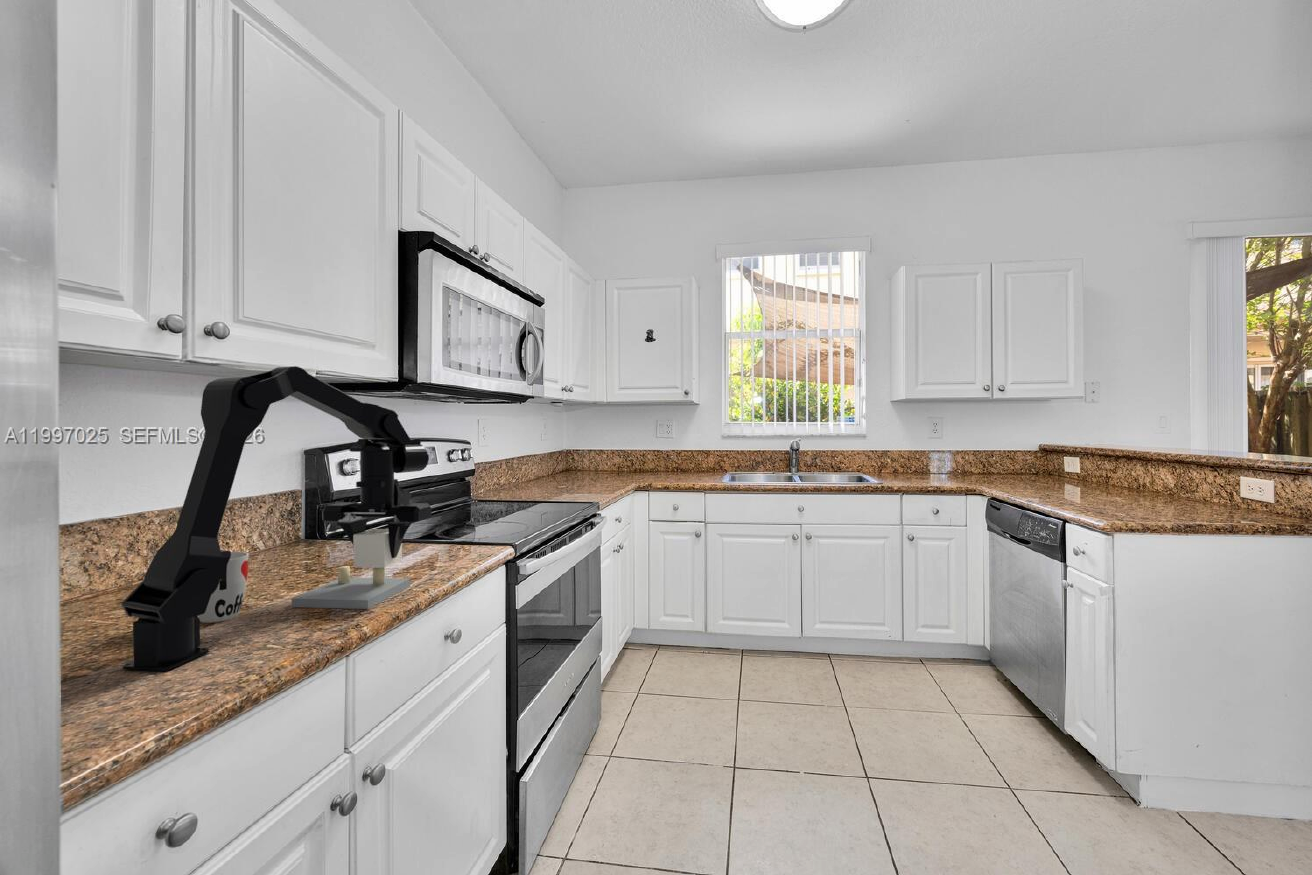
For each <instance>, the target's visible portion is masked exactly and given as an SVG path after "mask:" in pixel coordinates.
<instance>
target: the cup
mask: <svg viewBox="0 0 1312 875" xmlns="http://www.w3.org/2000/svg"><path fill="white" fill-rule="evenodd" d="M249 555H250V554H249V553H248V552H244V551H231V557H230V560H229V562H228V564H227V566H226V570H225V581H221V580H220V583H219V585H218V587H217V589H216V591H215V592H214V593H213V594H211V597H210V600H209V603H208V606H207V609H206V611H205V613H204V614H202V615H198V617H199V619H200V623H204V624H205V623H206V624H208V623H209V624H211V623H218V622H225V621H228V620H231V619H235V618H236V617H238V616H239V614H240V612H241V609H242V605H243V602H244V600H245V595H246V588H247V584H248V577H249V576H248V575H249V574H248V572H249Z"/></svg>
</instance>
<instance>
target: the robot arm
mask: <svg viewBox="0 0 1312 875" xmlns="http://www.w3.org/2000/svg"><path fill="white" fill-rule="evenodd" d="M290 396H291V397H293V398H295V399H297V400H298V401H301V402H302V403H304V404H307V405H309V406H311V407H313V408H315V409H318V410H320V411H321V412H324V413H325V414H327V415H329V416H332V417H334V418H336V419H338V420H340V421H341V422H342V423H343V424H344V425H345V427H346V428H347V430H349V431H350V432H352V433H353V434H354V435H355V436H357V437H358V439H357V441H356V442H355V443H354V444H352V446H351V447H350V448H349V451H350V452H352V453H353V452H354V453H355V452H356V453H360V454H359V455H360V456H359V459H360V460H359V461H360V465H359V466H360V467H359V470H360V471H359V472H360V477H359V478H360V481H359V480H358V481H356V482H355V485H356V486H355V487H356V488H360V502H343V501H342V502H336V503H332V504H331V503H330V504H327V505H325V506H324V508H323V510H322V513H321V514H322V515H321V518H322V521H323V522H325V521H326V522H336V524H335V525H336V526H338V527H341V529H342V530H343V531H344V533H345V534H346V536H347V537H348V539H349V541H350V542H351V544H352V545H353V535H354V534H357V533H361V532H364V531H366V526H367V524H368V521H369V518H368V517H370V518H371V517H372V518H375V517H376V518H382V517H383V518H394V521H393V522H389V523H387V529H388V531H389V542H390V552H391V556H392V558H395V557H397V554H398V552H399V549H400V546H401V543H402V544H403V541H404V537H405V536H406V533H407V531H408V529H409V528H410V527H411V525H412V524H415V523H419V522H421V521H424V520H427V519H430V518H432V516H433V515H432V514H433V512H432V507H431V506H430V504H429V503H428V502H423V503H421V502H419V503H418V502H410V500H411V496H412V492H410V491H409V490H407V489H404V488H402V487H400V486H399V483H400V482H399V480H398V479H397V478H396V479H395V474H402V473H412V472H413V473H414V472H421V471H423V470H424V469H426V468H427V467H428V464H429V461H430V456H429V453H428V451H427V449H426V447H425V446H424V445H422V443H421V441H422V440H421V439H420V437H419V438H414V437H413V438H410V436H409V435H408V433H407V432H406V430H405V428H404V426H403V425H402V423H401V421H400V420H399V414H398V413H397V412H396V411H395V410H394V409H391V408H389V407H386V406H385V407H384V406H382V405H379V404H373V403H370V402H369V403H368V402H364V401H362V400H359V399H356V398H355V397H353V396H351V395H350V394H347V393H346V392H344V391H342V390H340V389H338V388H336V387H334V386H333V385H330V384H329V383H327V382H325V381H323V380H322V379H319V378H317V377H316V376H314V375H312V374H310V373H308V372H307V370H305V369H304V368H302V367H301V366H300V367H299V366H296V365H295V366H277V367H276V368H273V369H271V370H268V371H265V372H261V373H256V374H253V375H249V376H243V377H242V376H240V377H239V376H238V377H225V378H224V377H222V378H216V379H214V380H212V381H209V382H208V383H207V384H206V386H205V387H204V389H203V392H202V399H201V405H200V406H201V407H200V416H201V420H202V424H203V428H204V438H203V440H202V443H201V447H200V450H199V453H198V457H197V459H196V461H195V466H194V469H193V472H192V476H191V479H190V482H189V485H188V488H187V491H186V494H185V499H184V501H183V504H182V506H181V507H182V508H181V511H180V514H179V518H178V520H177V524H176V526H175V530H174V532H173V533H172V534H171V535H170V537H169V538H168V539H167V540H166V541H165V542H164V543H163V544H162V545H161V546H160V548H159V549H157V551H156V552H155V555H154V557H153V558H152V559H151V560H152V561H150V562H151V563H149V566H148V568H147V570H146V572H145V574H144V578H143V580H142V581H141V582H140V583H139V585H137V587H135V589H134V590H132V592H130V593H129V594H128V596H127V597H126V598H125V599H124V600H123V601H121V604H120V605H121V607H122V609H123V611H124V612H125V615H126V616H127V617H134V618H138V619H137V620H135V621H133V622H132V643H133V644H132V645H133V646H132V647H133V650H132V652H133V660H132V661H129V662H128V663H125V664H123V665H122V670H130V671H153V672H154V671H156V672H157V671H158V672H161V671H162V672H164V671H170V670H173V669H174V668H177V667H179V666H181V665H183V664H186V663H187V662H190V661H193V660H194V659H196V658H198V657H200V656H203V655H206V654H207V653H210V649H209V647H201V627H200V626H201V625H200V624H201V621H200V619H199V617H198V615H202V614H204V613H205V611H206V609H207V606H208V603H209V600H210V597H211V594H213V593H214V592H215V591H216V589H217V587H218V585H219V583H220V580H221V581H225V570H226V566H227V564H228V562H229V560H230V557H231V552H232V551H230V550H226V549H225V550H224V549H221V546H220V543H219V532H220V529H221V526H222V522H223V519H224V515H225V512H226V509H227V506H228V503H229V498H230V494H231V492H232V488H233V485H234V482H235V478H236V473H237V470H238V467H239V464H240V461H241V457H242V453H243V450H244V448H245V447H244V446H245V443H246V441H247V439H248V438H249V437H250V436H251V435H252V434H253V433H254V432H255V430H256V429H257V428H258V427H259V426H260V425H261V424H262V423H263V420H264V419H265V416H266V415H267V412H268V410H269V408H270V406H271V405H272V404H275V403H277V402H279V401H282V400H286V398H288V397H290Z"/></svg>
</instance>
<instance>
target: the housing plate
mask: <svg viewBox="0 0 1312 875" xmlns="http://www.w3.org/2000/svg"><path fill="white" fill-rule="evenodd" d="M350 568H351V567H350V566H349V565H344V566H339V567H337V579H334V580H332V581H330V582H328V583H324V584H322V585H320V586H318V587H316V588H313V589H311V590H309V591H306V592H303V593H301V594H299V595H295V596H294V597H291V604H290V605H291V607H292V608H312V609H313V608H317V609H319V608H320V609H349V610H350V609H351V610H352V609H354V610H369V609H371V608H372V607H374V606H376V605H378V604H380V603H382V602H383V601H386V600H387V599H389V598H391V597H393V596H394V595H397V594H398V593H400V592H402V591H404V590H406V589H407V588H409V587H411V578H398V577H397V578H395V577H394V578H393V577H385V575H386V574H385V570H386V569H385V568H386V567H385V568H374V567H372V577H355V576H354V577H351V572H350V571H351V570H350Z"/></svg>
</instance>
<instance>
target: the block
mask: <svg viewBox="0 0 1312 875" xmlns="http://www.w3.org/2000/svg"><path fill="white" fill-rule="evenodd" d="M352 546H353V567H354V568H387V567H389V566H391V565H394V564H396V563H399V562H401V561H403V542H402V543H401V546H400V549H399V552H398V554H397V557H395V558H392V556H391V552H390V542H389V531H388V528H370V529H368V530H365V531H364V532H361V533H357V534H354V535H353V544H352Z"/></svg>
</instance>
